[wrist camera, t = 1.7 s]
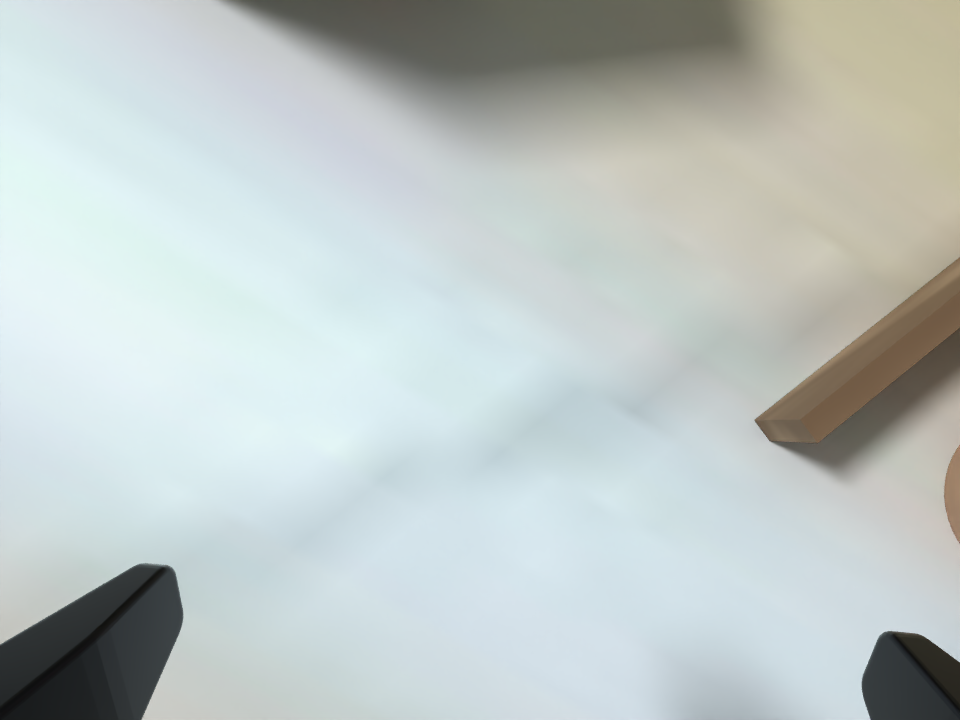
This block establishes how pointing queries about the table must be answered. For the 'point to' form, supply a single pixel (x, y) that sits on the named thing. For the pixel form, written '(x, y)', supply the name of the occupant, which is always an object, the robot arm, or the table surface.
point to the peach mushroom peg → (953, 493)
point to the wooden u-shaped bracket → (868, 363)
